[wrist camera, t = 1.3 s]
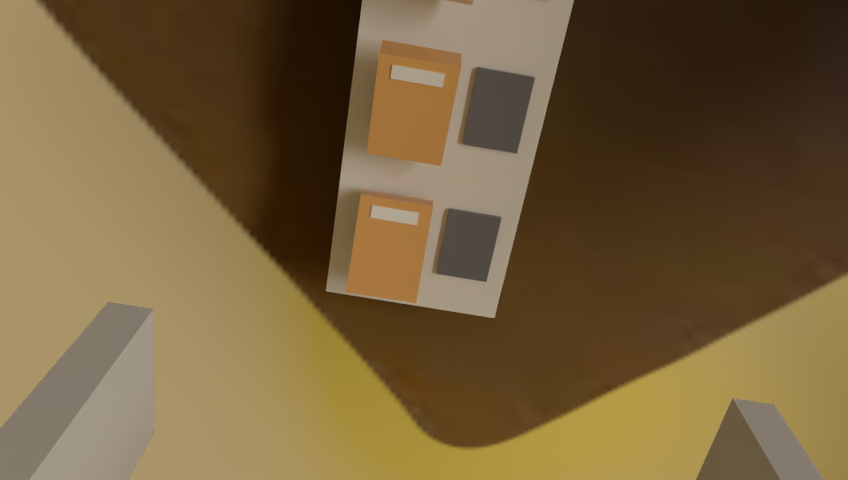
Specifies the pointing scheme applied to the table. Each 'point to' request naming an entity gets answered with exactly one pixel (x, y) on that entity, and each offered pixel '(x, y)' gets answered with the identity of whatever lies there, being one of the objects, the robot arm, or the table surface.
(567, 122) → the table surface
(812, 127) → the table surface
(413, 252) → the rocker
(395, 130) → the orange block
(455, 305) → the power strip
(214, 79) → the table surface
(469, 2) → the orange block
